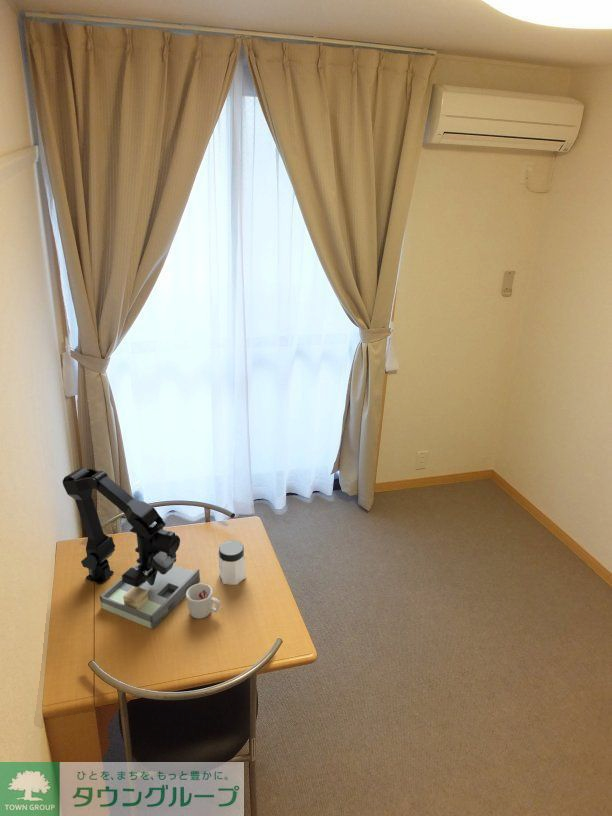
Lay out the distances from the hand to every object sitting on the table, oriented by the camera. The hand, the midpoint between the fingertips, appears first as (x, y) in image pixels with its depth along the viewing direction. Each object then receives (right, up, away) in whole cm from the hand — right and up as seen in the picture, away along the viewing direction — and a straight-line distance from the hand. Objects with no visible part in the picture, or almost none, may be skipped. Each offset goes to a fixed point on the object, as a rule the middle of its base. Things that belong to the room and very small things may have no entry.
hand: (151, 584), depth 174 cm
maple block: (-3, -4, -6) cm, 8 cm away
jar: (+25, -1, +10) cm, 26 cm away
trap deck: (0, -3, +1) cm, 4 cm away
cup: (+18, -7, -6) cm, 20 cm away
